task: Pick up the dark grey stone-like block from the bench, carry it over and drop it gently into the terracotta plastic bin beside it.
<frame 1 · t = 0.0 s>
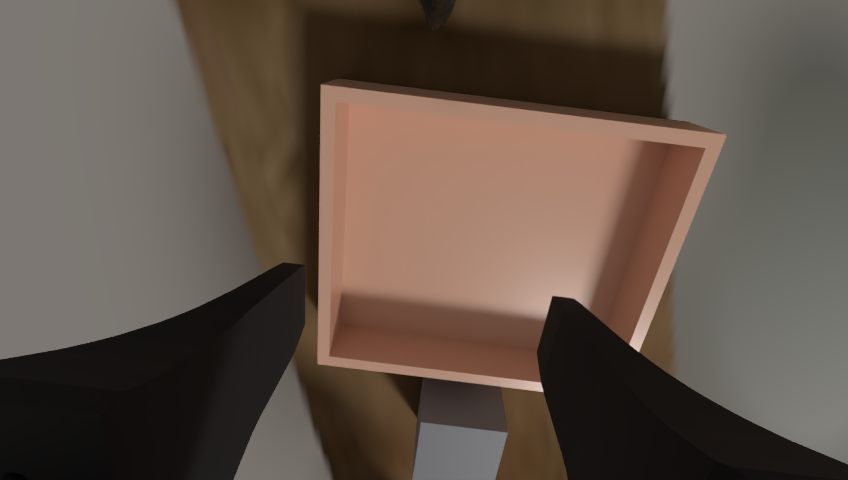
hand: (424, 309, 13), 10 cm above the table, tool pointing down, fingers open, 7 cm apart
terracotta bin: (486, 239, 23), on the table
grey block: (456, 395, 27), on the table
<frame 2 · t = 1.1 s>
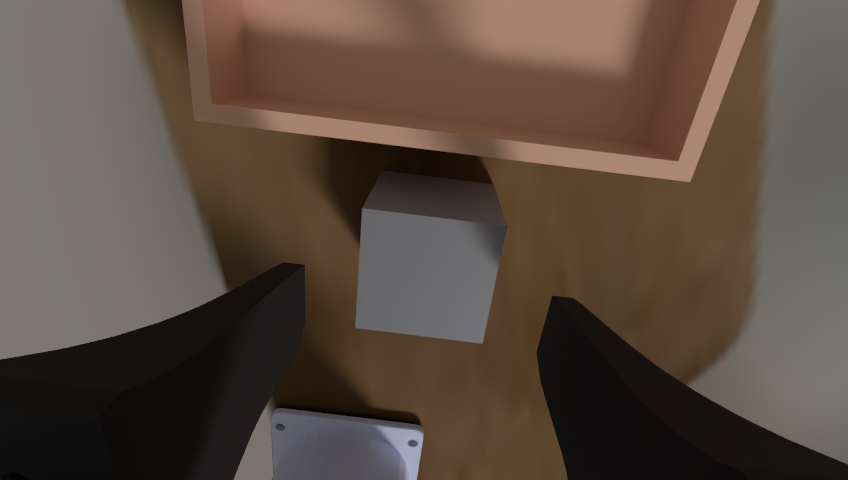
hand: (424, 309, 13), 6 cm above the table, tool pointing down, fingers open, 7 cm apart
grey block: (431, 227, 18), on the table
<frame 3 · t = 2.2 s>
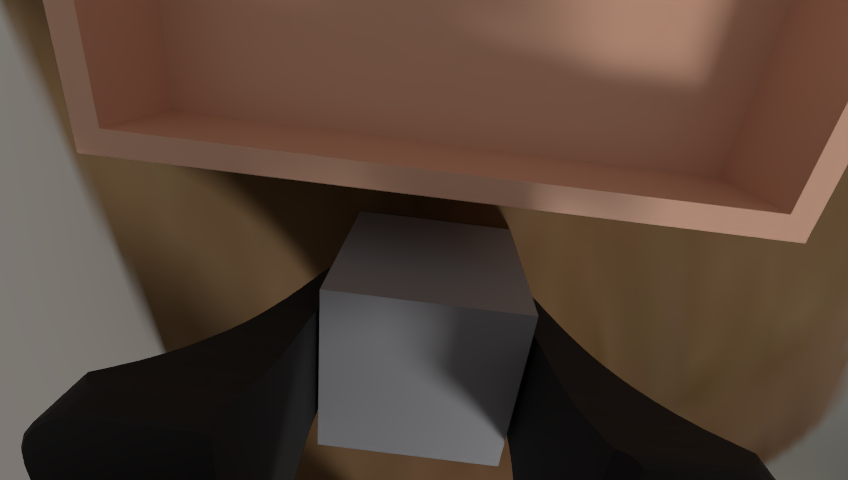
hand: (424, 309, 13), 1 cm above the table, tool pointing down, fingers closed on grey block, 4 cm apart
grey block: (426, 284, 14), on the table, touching gripper
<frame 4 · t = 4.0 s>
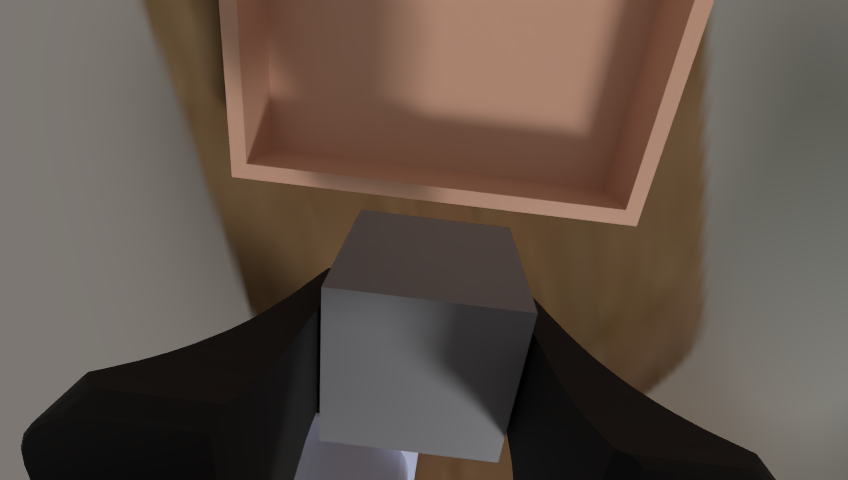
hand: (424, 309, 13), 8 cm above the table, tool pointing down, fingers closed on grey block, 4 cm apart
terracotta bin: (458, 6, 17), on the table
grey block: (426, 283, 14), point 7 cm above the table, touching gripper
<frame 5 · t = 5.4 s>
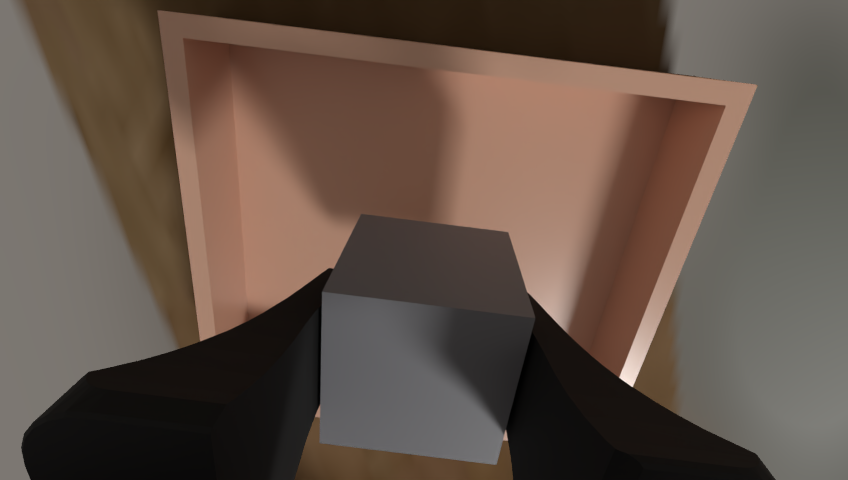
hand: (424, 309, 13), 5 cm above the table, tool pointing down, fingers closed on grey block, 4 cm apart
terracotta bin: (430, 239, 17), on the table
grey block: (426, 286, 14), point 3 cm above the table, touching gripper
when the fingers open (4 cm above the table, at t = 6.1 s): grey block drops 2 cm, resting on terracotta bin.
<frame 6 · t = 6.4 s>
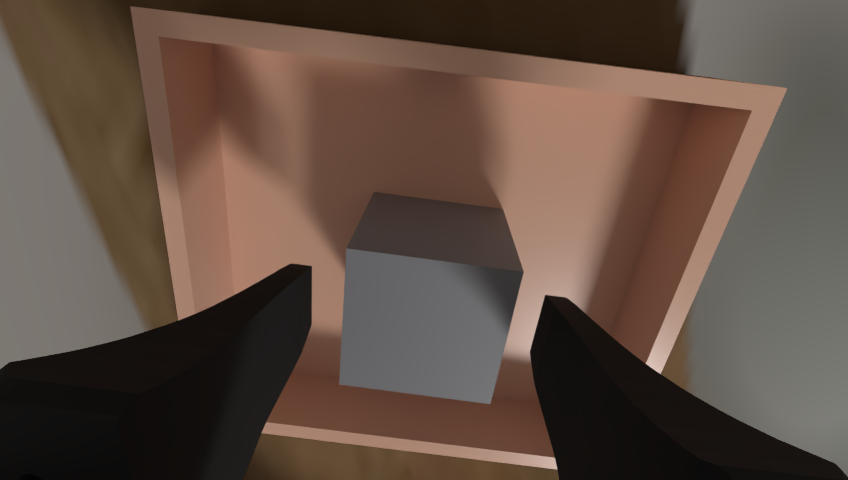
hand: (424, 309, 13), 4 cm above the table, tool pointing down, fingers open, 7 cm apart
terracotta bin: (429, 250, 16), on the table
grey block: (430, 257, 16), resting on terracotta bin
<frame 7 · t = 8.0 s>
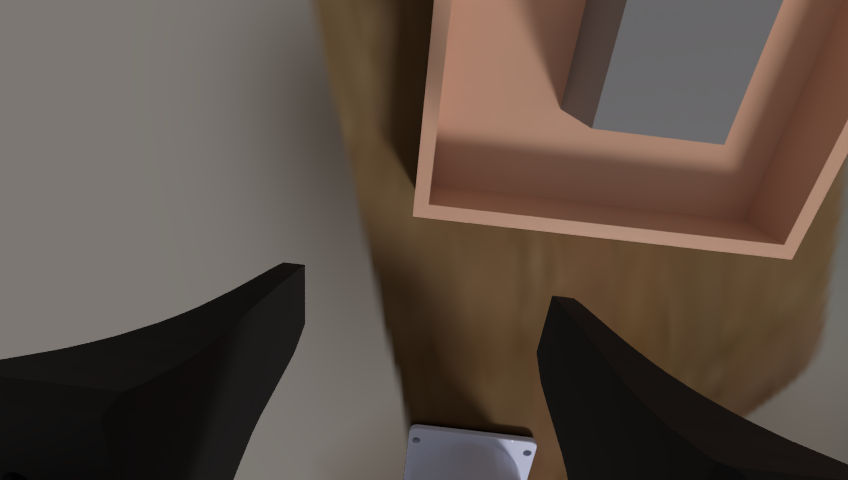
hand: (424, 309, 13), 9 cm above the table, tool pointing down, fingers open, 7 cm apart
terracotta bin: (625, 55, 18), on the table
grey block: (628, 59, 18), resting on terracotta bin
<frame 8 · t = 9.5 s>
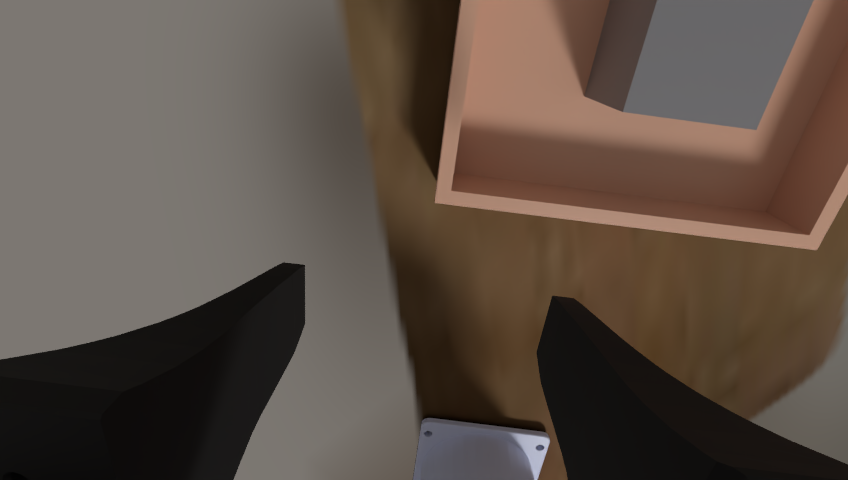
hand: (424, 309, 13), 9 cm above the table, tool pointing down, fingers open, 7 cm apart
terracotta bin: (651, 42, 18), on the table
grey block: (654, 46, 18), resting on terracotta bin
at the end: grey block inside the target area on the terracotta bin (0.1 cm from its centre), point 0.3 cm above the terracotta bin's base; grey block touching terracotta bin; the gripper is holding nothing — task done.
